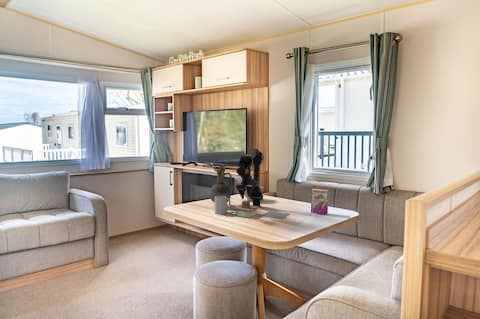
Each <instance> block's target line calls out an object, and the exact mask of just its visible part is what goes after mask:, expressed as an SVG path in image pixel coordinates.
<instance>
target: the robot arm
mask: <svg viewBox="0 0 480 319" xmlns="http://www.w3.org/2000/svg"><path fill="white" fill-rule="evenodd" d="M264 158H265V156H264V154H263V152H261V151H260V150H259V149H257V148H251V149H250V150H249V152H248V153H247V154H243V155H241V157H240V159H239V163H238V167H239V168H237V170H236V173H237V175H238V176H239V177H240V179H241V182H240V183H237V184H236V186H235V189H236V190H237V192H238V193H239V195H240V197H241V199H242V200H244V199H245V195H244V194H245V191H246V190H247V194H248V197H250V199H253V201H252V205H253V206H260V208H262V207H263V206H262V205H261V201H264V195H263V194H264V193H263V192H261V187H260V186H261V185H260V183H261V182H260V180H261V178H260V177H261V165H262V164H263V162H264V160H265V159H264ZM252 165H253V175H251V170H252V168H251V167H252Z"/></svg>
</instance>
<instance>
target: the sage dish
mask: <svg viewBox="0 0 480 319" xmlns="http://www.w3.org/2000/svg"><path fill="white" fill-rule="evenodd" d="M235 215H236V217H243V218H250V217H255V216H257V209H256V210H254V211H252V212H246V211H238V210H235Z"/></svg>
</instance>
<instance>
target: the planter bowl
mask: <svg viewBox="0 0 480 319" xmlns="http://www.w3.org/2000/svg"><path fill="white" fill-rule="evenodd" d="M259 186H260V187H261V192H262V193H263V191H264V186H261V185H259ZM244 197H245V199H246V201H250V202H253V199H250V197H248V194H247V190H246V191H245V194H244Z"/></svg>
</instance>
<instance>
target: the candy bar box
mask: <svg viewBox="0 0 480 319" xmlns="http://www.w3.org/2000/svg"><path fill="white" fill-rule="evenodd" d="M310 200H311V201H310V203H311V204H310V214H315V213H318V215H326V214H327V215H328V213H329V189H320V188H312V189H311V199H310Z"/></svg>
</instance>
